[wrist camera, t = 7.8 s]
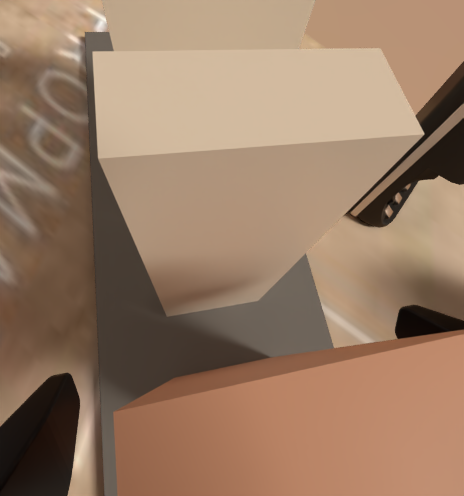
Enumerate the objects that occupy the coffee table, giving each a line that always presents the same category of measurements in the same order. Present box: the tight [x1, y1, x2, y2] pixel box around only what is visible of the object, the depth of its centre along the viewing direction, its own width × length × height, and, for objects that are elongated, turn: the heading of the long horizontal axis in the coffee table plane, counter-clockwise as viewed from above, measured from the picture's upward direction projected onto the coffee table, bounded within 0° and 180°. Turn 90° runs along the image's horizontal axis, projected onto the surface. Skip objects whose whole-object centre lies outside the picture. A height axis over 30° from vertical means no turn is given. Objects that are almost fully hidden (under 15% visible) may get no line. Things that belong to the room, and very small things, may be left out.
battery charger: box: [349, 62, 464, 227], centre depth 16 cm, size 7×4×11 cm, turn 141°
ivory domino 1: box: [102, 0, 315, 51], centre depth 12 cm, size 2×5×13 cm, turn 101°
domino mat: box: [85, 32, 334, 496], centre depth 19 cm, size 30×12×1 cm, turn 11°
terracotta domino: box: [113, 330, 464, 496], centre depth 9 cm, size 2×5×13 cm, turn 101°
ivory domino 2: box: [92, 48, 424, 317], centre depth 11 cm, size 2×5×13 cm, turn 101°
